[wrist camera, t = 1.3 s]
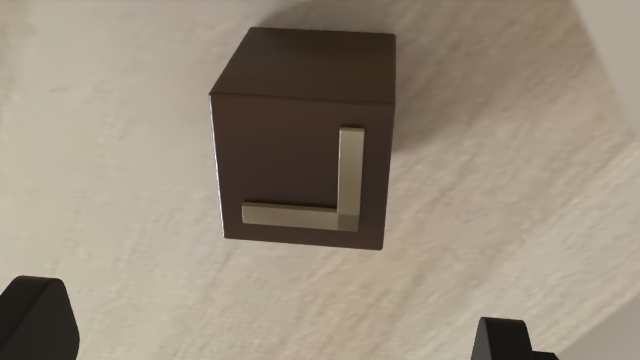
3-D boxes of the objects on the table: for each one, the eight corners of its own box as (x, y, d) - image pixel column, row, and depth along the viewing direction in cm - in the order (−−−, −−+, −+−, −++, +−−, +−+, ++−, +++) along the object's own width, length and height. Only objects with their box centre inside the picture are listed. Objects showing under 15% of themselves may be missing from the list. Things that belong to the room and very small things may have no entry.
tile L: (250, 26, 19) (205, 96, 14) (395, 33, 18) (395, 107, 14) (256, 151, 21) (220, 243, 17) (385, 160, 21) (382, 256, 17)
